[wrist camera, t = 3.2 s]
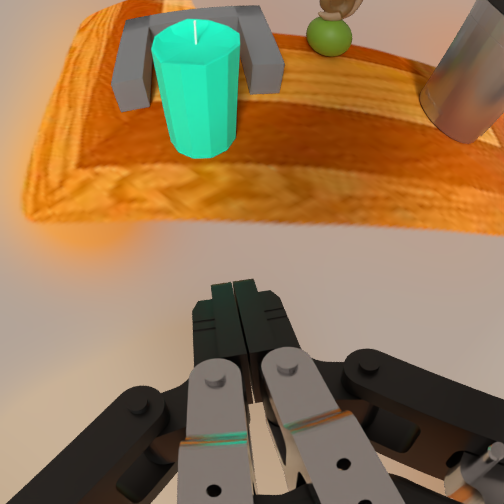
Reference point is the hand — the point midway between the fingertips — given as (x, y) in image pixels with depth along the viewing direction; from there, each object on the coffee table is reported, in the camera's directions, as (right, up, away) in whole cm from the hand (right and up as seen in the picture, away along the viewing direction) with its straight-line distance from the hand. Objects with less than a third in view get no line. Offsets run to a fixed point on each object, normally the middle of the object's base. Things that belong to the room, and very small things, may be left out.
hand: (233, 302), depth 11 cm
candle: (-4, +12, +16) cm, 21 cm away
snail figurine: (+10, +26, +21) cm, 35 cm away
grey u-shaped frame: (-6, +23, +19) cm, 30 cm away
